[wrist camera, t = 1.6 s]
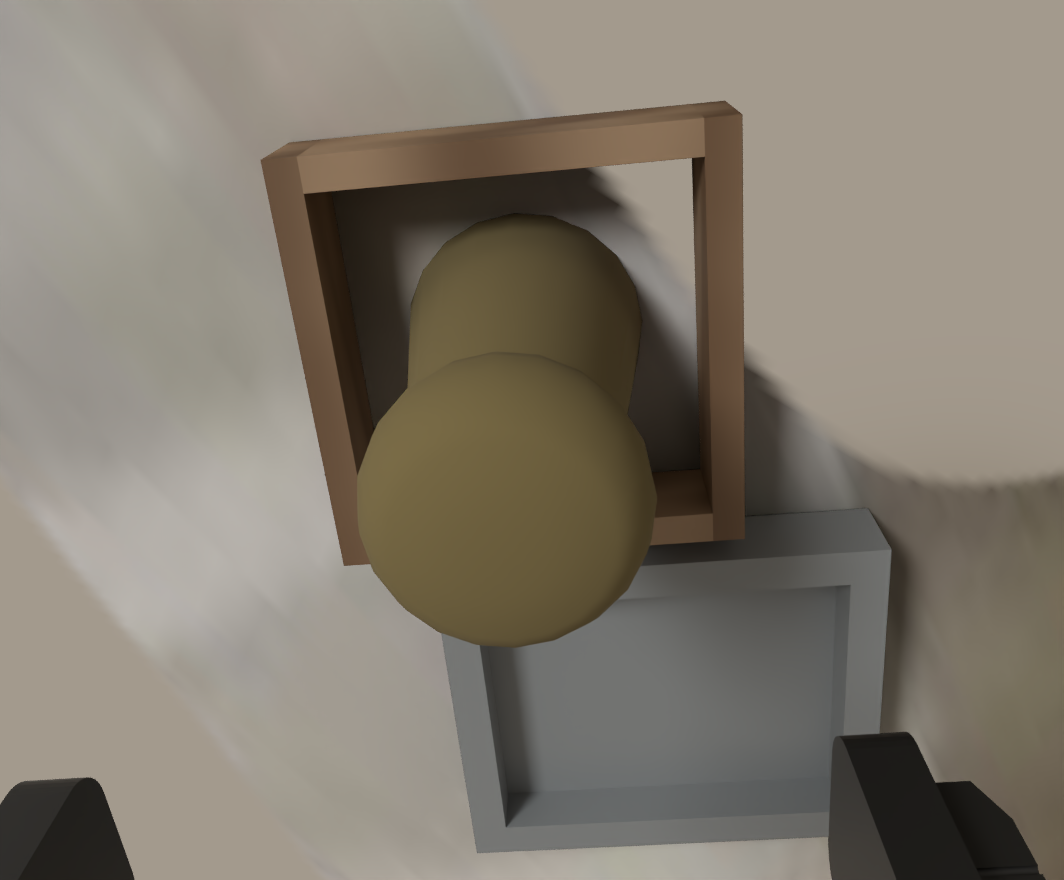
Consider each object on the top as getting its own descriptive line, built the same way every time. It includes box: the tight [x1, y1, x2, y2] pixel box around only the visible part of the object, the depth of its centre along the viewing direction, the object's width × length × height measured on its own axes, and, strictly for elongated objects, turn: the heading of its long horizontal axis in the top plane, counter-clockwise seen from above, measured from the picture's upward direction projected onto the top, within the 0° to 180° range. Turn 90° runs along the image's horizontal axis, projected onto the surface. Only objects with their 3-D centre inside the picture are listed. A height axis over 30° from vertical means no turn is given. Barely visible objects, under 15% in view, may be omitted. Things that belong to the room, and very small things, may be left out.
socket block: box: [261, 101, 745, 566], centre depth 25 cm, size 10×10×2 cm
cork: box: [357, 213, 657, 648], centre depth 21 cm, size 6×6×11 cm
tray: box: [441, 508, 892, 853], centre depth 29 cm, size 12×10×2 cm
